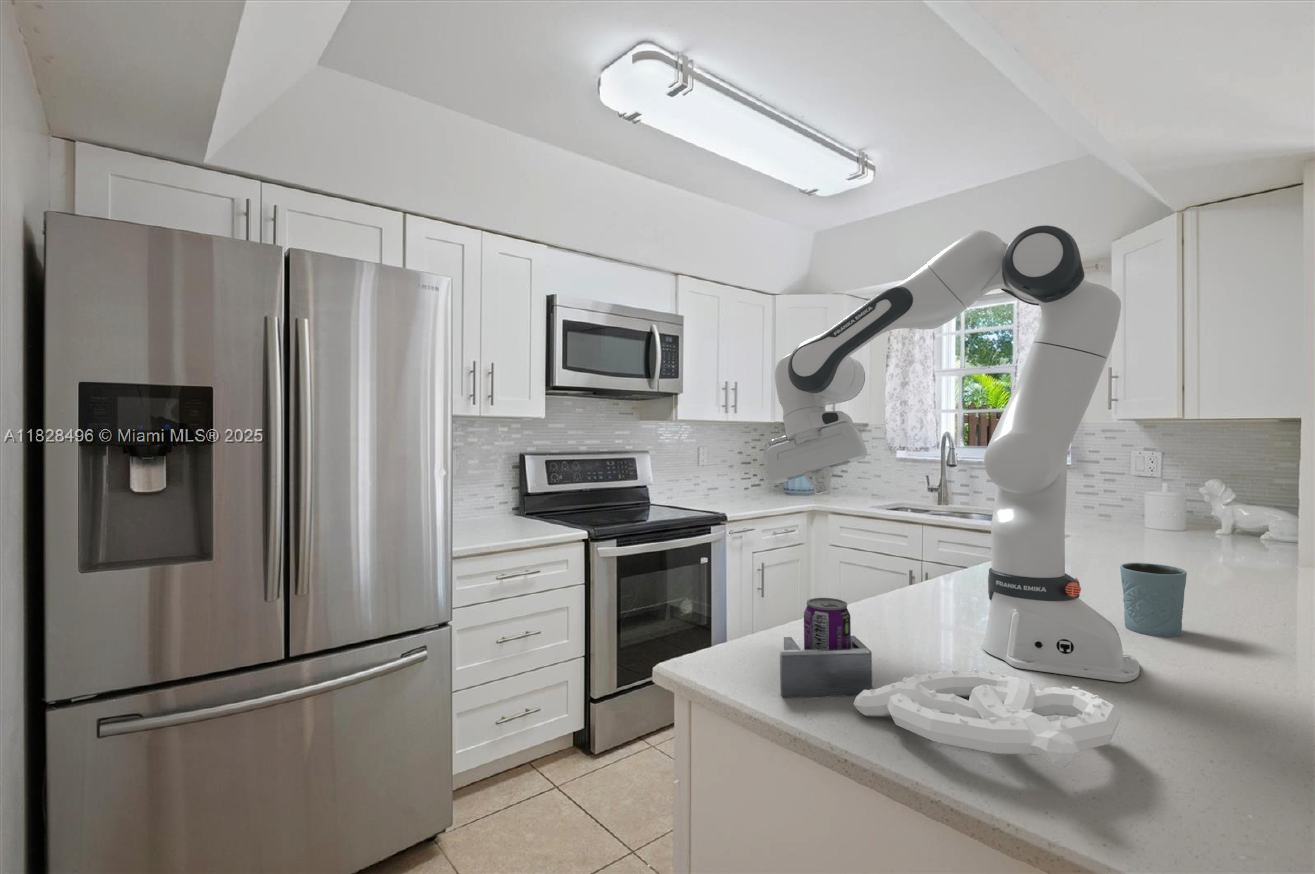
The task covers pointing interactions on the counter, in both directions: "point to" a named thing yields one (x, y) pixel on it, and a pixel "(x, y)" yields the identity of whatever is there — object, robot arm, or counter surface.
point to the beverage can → (827, 624)
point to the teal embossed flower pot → (1153, 598)
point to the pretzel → (995, 713)
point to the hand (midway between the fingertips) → (823, 492)
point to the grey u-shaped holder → (825, 670)
